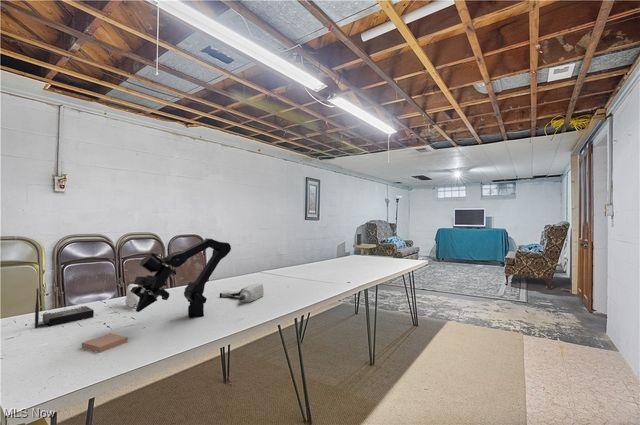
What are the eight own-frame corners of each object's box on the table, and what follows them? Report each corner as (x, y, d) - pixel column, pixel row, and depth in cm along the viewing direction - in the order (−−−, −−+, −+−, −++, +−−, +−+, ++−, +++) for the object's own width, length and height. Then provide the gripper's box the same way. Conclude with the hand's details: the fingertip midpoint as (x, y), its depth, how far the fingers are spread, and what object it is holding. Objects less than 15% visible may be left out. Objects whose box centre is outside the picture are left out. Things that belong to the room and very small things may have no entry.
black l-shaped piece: (84, 313, 150) (85, 278, 150) (94, 319, 141) (95, 282, 142) (29, 324, 133) (30, 285, 134) (37, 331, 125) (38, 290, 126)
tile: (110, 333, 118) (81, 342, 109) (127, 336, 114) (100, 347, 105) (110, 339, 118) (81, 349, 109) (127, 343, 114) (99, 354, 105)
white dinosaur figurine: (135, 299, 172) (136, 280, 171) (147, 312, 155) (148, 291, 154) (121, 301, 167) (122, 281, 167) (132, 315, 150) (133, 293, 149)
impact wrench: (205, 298, 168) (246, 290, 163) (226, 289, 190) (262, 281, 185) (208, 313, 167) (249, 305, 162) (229, 302, 190) (265, 294, 185)
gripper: (133, 268, 133) (108, 300, 123) (160, 268, 124) (135, 303, 114) (151, 281, 140) (129, 313, 130) (178, 282, 131) (157, 316, 121)
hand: (137, 311), depth 123 cm, fingers closed
